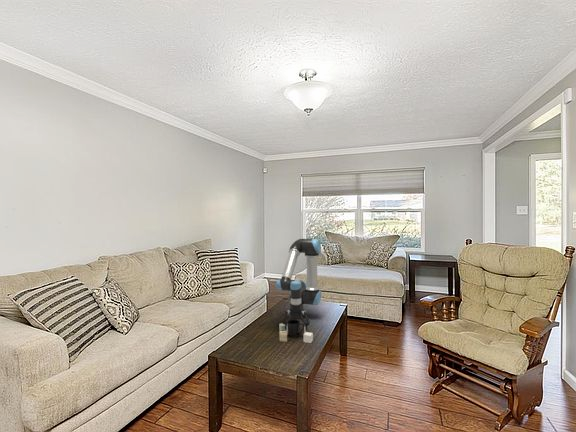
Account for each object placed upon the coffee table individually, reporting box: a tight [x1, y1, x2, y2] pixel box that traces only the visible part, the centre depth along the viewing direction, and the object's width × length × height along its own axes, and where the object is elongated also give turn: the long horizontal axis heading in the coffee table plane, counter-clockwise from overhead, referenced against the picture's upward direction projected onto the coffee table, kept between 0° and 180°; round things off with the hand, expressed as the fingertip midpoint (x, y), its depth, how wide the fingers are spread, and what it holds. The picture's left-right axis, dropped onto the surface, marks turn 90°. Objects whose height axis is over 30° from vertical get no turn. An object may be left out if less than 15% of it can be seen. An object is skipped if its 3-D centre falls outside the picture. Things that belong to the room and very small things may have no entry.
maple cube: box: [279, 330, 288, 343], centre depth 203 cm, size 5×5×5 cm
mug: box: [288, 319, 305, 338], centre depth 210 cm, size 8×12×10 cm
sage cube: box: [278, 322, 287, 332], centre depth 218 cm, size 5×5×5 cm
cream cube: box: [303, 331, 314, 344], centre depth 201 cm, size 5×5×5 cm
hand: (296, 334), depth 210 cm, fingers closed on mug, 12 cm apart
